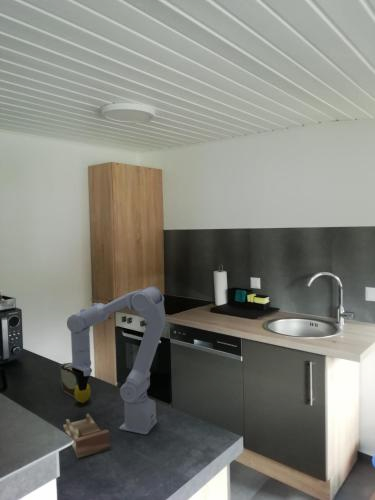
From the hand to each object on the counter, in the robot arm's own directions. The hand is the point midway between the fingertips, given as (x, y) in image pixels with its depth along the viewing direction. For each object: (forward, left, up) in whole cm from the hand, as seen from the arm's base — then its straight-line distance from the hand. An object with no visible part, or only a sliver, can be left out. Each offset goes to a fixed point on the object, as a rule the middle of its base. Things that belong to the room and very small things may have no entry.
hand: (82, 389), depth 124 cm
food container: (+14, -15, -10) cm, 23 cm away
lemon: (+6, -8, -10) cm, 14 cm away
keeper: (-11, +13, -8) cm, 19 cm away
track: (-8, +10, -9) cm, 16 cm away
